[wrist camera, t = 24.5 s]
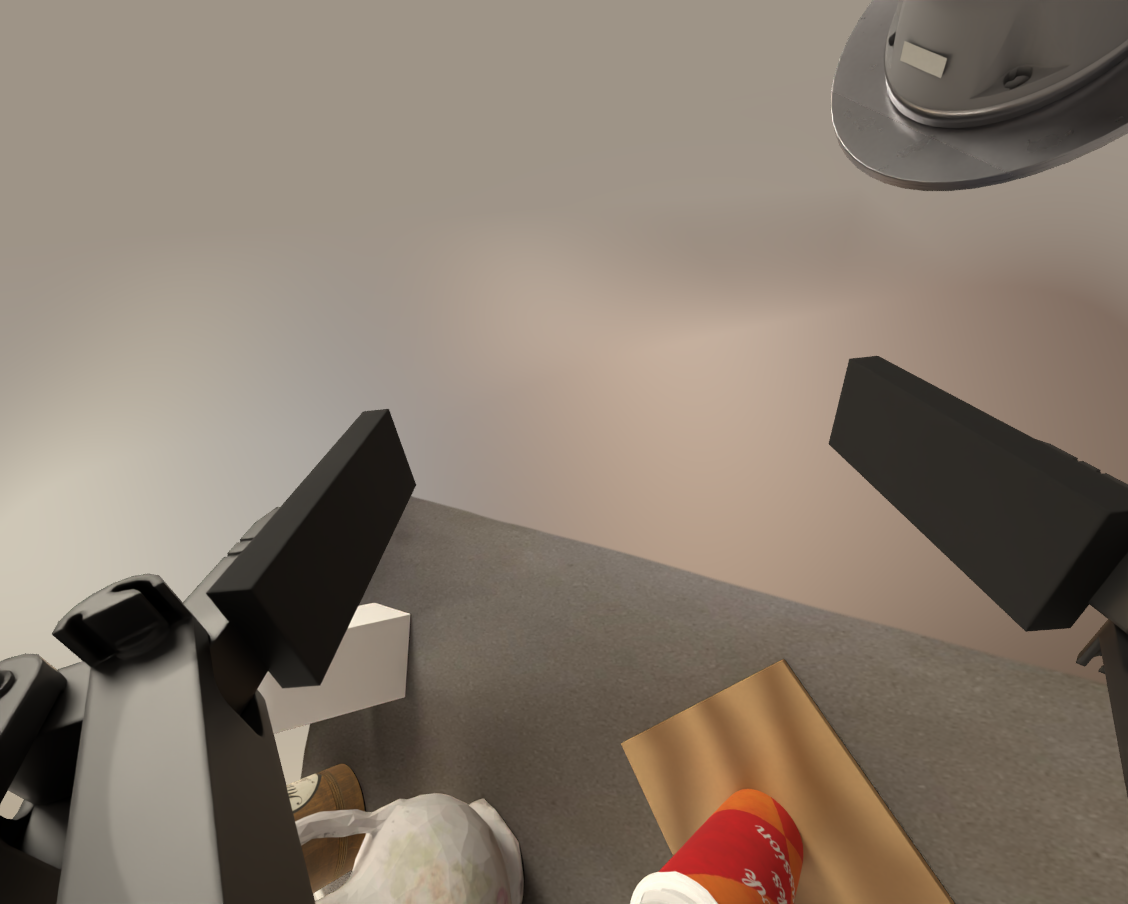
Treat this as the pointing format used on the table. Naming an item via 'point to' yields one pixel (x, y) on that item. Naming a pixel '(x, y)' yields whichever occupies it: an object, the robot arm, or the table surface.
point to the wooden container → (328, 794)
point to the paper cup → (732, 858)
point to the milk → (349, 672)
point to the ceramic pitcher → (425, 853)
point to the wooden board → (782, 789)
